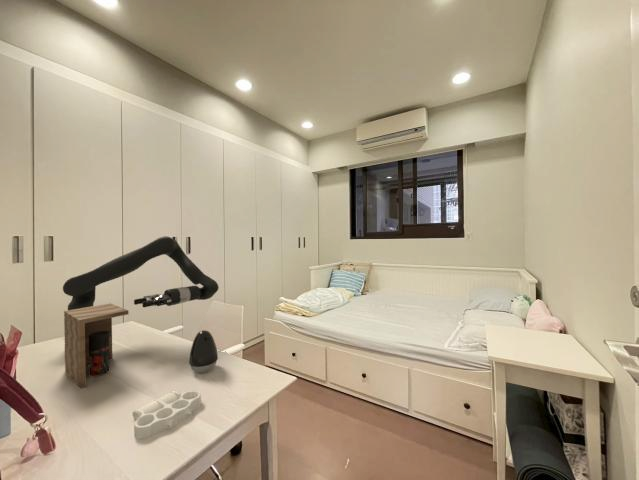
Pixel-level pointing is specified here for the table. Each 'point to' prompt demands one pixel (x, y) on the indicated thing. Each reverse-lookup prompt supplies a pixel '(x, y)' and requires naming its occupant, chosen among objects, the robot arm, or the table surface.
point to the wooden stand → (86, 336)
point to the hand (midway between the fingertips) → (138, 303)
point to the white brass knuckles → (164, 412)
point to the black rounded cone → (203, 352)
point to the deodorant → (99, 353)
